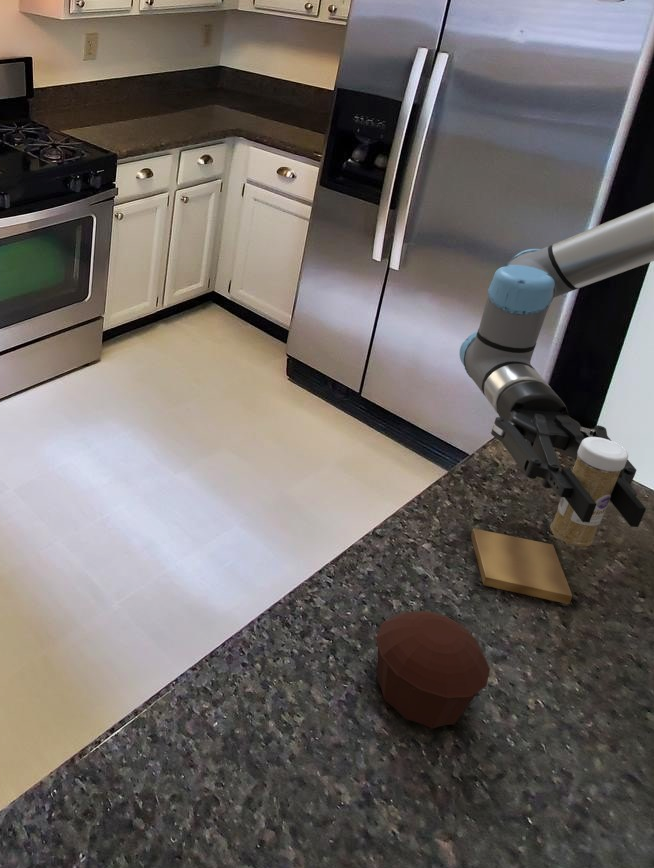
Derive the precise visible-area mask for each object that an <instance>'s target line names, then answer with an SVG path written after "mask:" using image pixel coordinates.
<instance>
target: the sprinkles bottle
mask: <svg viewBox="0 0 654 868" xmlns="http://www.w3.org/2000/svg"><path fill="white" fill-rule="evenodd" d="M610 440H611V439H610ZM610 440H608V439H604V438H599V437H587V438H585V439H583V440H582V442H581V444H580V446H579V449H578V452H577V454H578V455H577V460H575V462H574V465H573V468H572V469H571V471H572V473H573V474H574V475H575V477H576V478H577V479H578V480H579V482H580V483H581V484H582V486H583V487H584V488H585V490H586V491H587V492H588V493H589V495H590V496H591V497H592V499H593V500H594V501H595V502H596V504H597V505H596V507H595V510H594V512H593V515H592V517H591V520H590V522H582V521H581V519H580V518H579V517H578V515H577V514H576V513H575V511H574V510H573V508H572V507H571V506H570V504H569V503H568V502H567V500H566V499H565V498H564V497H560V500H559V502H558V505H557V511H556V513H555V516H554V518H553V521H552V522H551V523H550V531H551V533H552V534H553V535H554V536H555V538H557V539H558V540H560V541H562V542H563V543H566V544H568V545H571V546H574V547H580V548H581V547H583V548H585V547H589V546H591V545H592V544H593V543H594V540H595V535H596V533H597V530H598V527H599V526H600V525H599V524H601V522H602V520H603V518H604V515H605V513H606V510H607V508H608V505H609V503H610V497H611V493H612V491H613V488H614V486H615V484H616V481H617V478H618V476H619V474H620V472H621V470H622V469H623V468H624V467H625V464H626V462H627V459H628V460H629V453H628V450H626V449H625V448H624V447H623V446H622V445H620V444H619V443H617V442H615V441H614V440H611V441H610Z"/></svg>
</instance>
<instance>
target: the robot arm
mask: <svg viewBox="0 0 654 868" xmlns="http://www.w3.org/2000/svg"><path fill="white" fill-rule="evenodd" d="M651 262H654V202H652V203H650V204H648V205H644V206H642V207H640V208H638V209H634V210H633V211H630V212H627V213H626V214H623V215H620V216H618V217H616V218H614V219H611V220H608V221H606V222H603V223H602V224H599V225H597V226H594V227H592V228H590V229H587V230H584V231H582V232H580V233H577V234H575V235H573V236H570V237H567V238H565V239H563V240H560V241H557V242H555V243H553V244H551V245H548V246H546V247H542V248H528V249H525V250H522V251H520V252H519V253H517V254H515V256H513V257H512V258H511V259H510V260H509V261H508V262H507V263H506V265H505V266H501V267H499V268H498V269H497V270H496V271H495V272H494V275H493V277H492V280H491V282H490V285H489V286H488V289H487V296H486V299H485V304H484V308H483V312H482V316H481V319H480V322H479V327H478V329H477V331H475V332H473V333H471V334H470V335H468V337H467V338H466V339H464V341H463V342H462V343H461V345H460V347H459V359H460V361H461V364H462V365H463V367H464V370H465V371H466V374H467V375H468V377H469V378H470V379H471V380H472V381H473V382H474V383H475V385H476V386H477V388H478V389H479V390H480V392H481V393H482V394H483V396H484V397H485V398H486V400H487V401H488V403H489V404H490V405H491V407H492V408H493V410H494V411H495V412H496V414H497V417H495V419H494V422H493V425H492V429H491V433H490V434H491V436H493V437H494V438H495V439H497V440H498V441H499V442H500V443H502V446H504V448H505V449H506V450H507V451H508V453H509V455H510V456H511V458H512V459H513V460H514V461H515V463H516V464H517V466H518V467H519V468H520V470H521V472H522V473H523V474H524V476H525V477H527V478H528V479H532V480H534V479H537V478H541V479H542V482H541V486H542V487H543V488H546V489H553V490H554V492H555V494H557V496H558V497H560V498H561V497H564V498H565V499H566V500H567V502H568V503H569V504H570V506H571V507H572V508H573V510H574V511H575V513H576V514H577V515H578V517H579V518H580V519H581V521H582V522H590V520H591V517H592V515H593V512H594V510H595V507H596V505H597V504H596V502H595V501H594V500H593V499H592V497H591V496H590V495H589V493H588V492H587V491H586V490H585V488H584V487H583V486H582V484H581V483H580V482H579V480H578V479H577V478H576V477H575V475H574V474H573V473H572V469H571V468H568V467H562V468H561V465H560V464H561V463H560V462H559V459H558V457H557V454H556V451H555V449H557V450H558V451H559V452H561V454H563V455H564V456H565V457H570V458H572V459H573V460H574V461H576V460H577V455H578V454H577V452H578V449H579V446H580V444H581V442H582V440H583V439H585V438H587V437H599V438H604V439H608V440H610V441H612V440H611V438H610V437H609V436H608V431H607V428H606V427H605V426H602V425H599V424H597V425H594V428H587V427H584V426H582V425H581V424H580V422H579V421H577V420H576V419H574V418H572V417H570V414H569V411H568V409H567V406H566V404H565V403H564V401H563V400H562V398H561V397H559V395H558V394H557V393H556V392H555V390H554V389H552V387H551V386H550V385H549V384H548V382H547V381H546V380H545V379H544V378H543V377H542V375H540V374H539V372H538V371H537V370H536V369H535V368H534V366H533V365H532V364H531V360H532V357H533V355H534V351H535V348H536V346H537V341H538V339H539V336H540V333H541V330H542V327H543V324H544V322H545V318H546V316H547V313H548V311H549V309H550V306H551V304H552V302H553V300H554V298H557V297H560V296H562V295H565V294H568V293H570V292H573V291H575V290H578V289H581V288H583V287H586V286H589V285H591V284H594V283H597V282H600V281H603V280H605V279H608V278H611V277H614V276H617V275H618V274H619V275H620V274H622V273H624V272H627V271H630V270H632V269H635V268H638V267H641V266H644V265H646V264H649V263H651ZM560 468H561V470H560ZM636 473H637V469H636V467H635V466H634V465H633V464H632V462H631V461H630V460H629V458H628V459H627V462H626V464H625V467H624V468H623V469H622V470H621V472H620V474H619V476H618V478H617V481H616V484H615V486H614V488H613V491H612V493H611V497H610V500H609V502H610V503H611V504H612V505H613V507H614V508H615V509H616V510H617V512H618V513H619V514H620V515H621V517H623V519H624V520H625V521H626V523H627V524H628V525H629V527H631V528H639V526H640V524H641V522H642V519H643V517H644V514H645V512H646V510H647V507H645V505H644V504H643V503H642V502H641V501H640V499H638V497H637V495H638V494H637V493H638V492H637V491H636V489H634V487H633V486H632V483H633V481H634V478H635V475H636Z"/></svg>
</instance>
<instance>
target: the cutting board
mask: <svg viewBox="0 0 654 868" xmlns="http://www.w3.org/2000/svg"><path fill="white" fill-rule="evenodd" d="M470 538H471V539H470V540H471V541H472V542H471V543H472V546H473V550H474V554H475V559H476V562H477V566H478V571H479V574H480V578H481V582H482V586H485V587H490V588H494V589H497V590H503V591H507V592H512V593H516V594H520V595H525V596H530V597H534V598H539V599H542V600H547V601H552V602H556V603H561V604H564V605H566V604H567V605H570V603H571V601H572V599H573V593H572V590H571V588H570V586H569V583H568V580H567V577H566V575H565V572H564V570H563V567H562V565H561V562H560V559H559V557H558V554H557V551H556V549H555V546H554V544H552V543H547V542H542V541H537V540H533V539H529V538H523V537H519V536H518V537H517V536H513V535H509V534H503V533H499V532H494V531H489V530H483V529H479V528H475V527H474V528H473V529H472V530H471V534H470Z"/></svg>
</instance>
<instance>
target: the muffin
mask: <svg viewBox="0 0 654 868" xmlns="http://www.w3.org/2000/svg"><path fill="white" fill-rule="evenodd" d="M375 640H376V643H377V661H376V662H377V663H376V664H377V666H376V681H377V683H378V685H379V687H380V689H381V692H382V693H381V694H382V697H383V701H385V702H386V703H387V704H388V705H389V706H391V707H392V708H393V709H395V710H396V711H397V712H398V713H399V715H401V716H402V717H403V718H404V719H405V720H408V721H411V722H415V723H418V724H420V725H422V726H425V727H427V728H430V729H436V728H439V727H443V726H451V725H452V726H454V725H456V723H457V722H458V720H459V719H460V718H461V716H462V715H463V713H464V712H465V711H466V709H467V708H468V706H469V704H470V703H472V700H473V699H474V698H475V696H476V694H477V693H478V692H480V691H482V690H484V689H485V688H486V687H487V686H488V681H489V675H490V671H491V668H490V666H489V664H488V661H487V658H486V657H485V654H484V652H483V650H482V648H481V646H480V643H479V642H478V640H477V639H476V638H475V636H474V635H472V633H471V632H470V631H468V629H466V628H465V626H464V625H463V624H461V623H459V622H458V621H456V620H454V619H452V618H450V617H449V616H448V615H446V614H443V613H437V612H435V611H434V612H433V611H429V610H415V611H413V610H411V611H406V612H402V613H399V614H394V615H393V616H392V617H390V618H388V619H386V620H384V621H383V622H381V624H380V626H379V629H378V632H377V635H376V637H375Z"/></svg>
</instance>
